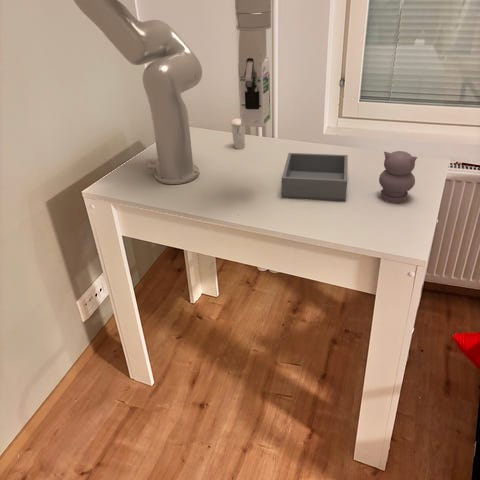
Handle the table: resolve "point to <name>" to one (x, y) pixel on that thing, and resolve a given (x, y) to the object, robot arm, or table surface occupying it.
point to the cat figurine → (397, 176)
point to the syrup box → (263, 113)
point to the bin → (315, 177)
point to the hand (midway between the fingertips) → (254, 103)
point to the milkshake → (238, 133)
